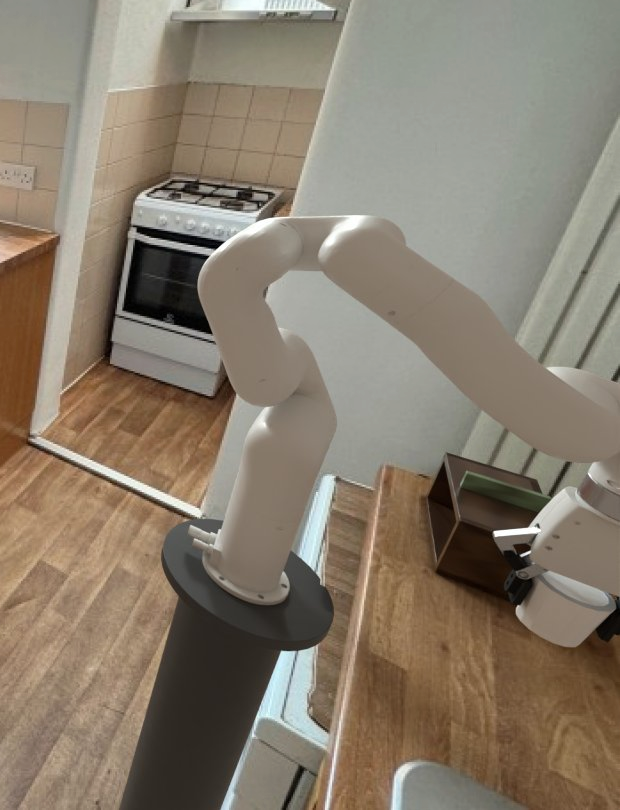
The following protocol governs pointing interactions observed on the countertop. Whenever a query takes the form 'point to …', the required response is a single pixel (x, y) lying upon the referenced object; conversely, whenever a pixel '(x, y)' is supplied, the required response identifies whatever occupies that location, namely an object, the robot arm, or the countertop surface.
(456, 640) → the countertop surface
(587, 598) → the white cylinder
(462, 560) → the tray
